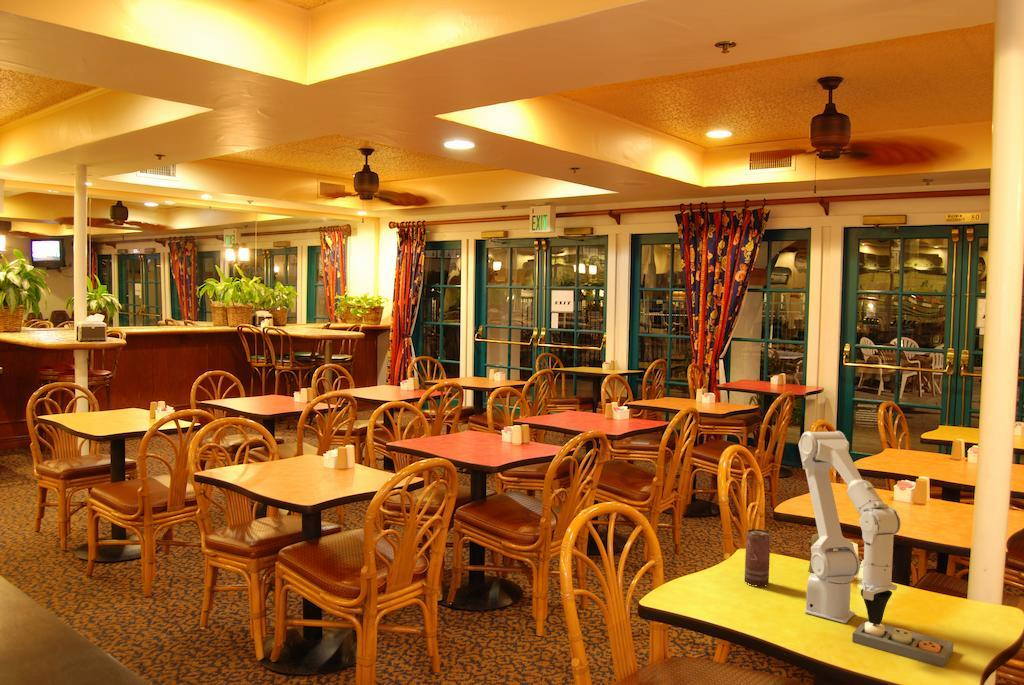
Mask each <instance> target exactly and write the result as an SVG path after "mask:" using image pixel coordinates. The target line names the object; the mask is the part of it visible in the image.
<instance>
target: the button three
mask: <svg viewBox="0 0 1024 685" xmlns="http://www.w3.org/2000/svg"><path fill="white" fill-rule="evenodd" d="M919 648H921V649H925V650H929V651H932V652H936V653H940V645H938V644H936V643H934V642H930V641H920V642H919Z"/></svg>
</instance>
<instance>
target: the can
mask: <svg viewBox="0 0 1024 685" xmlns="http://www.w3.org/2000/svg"><path fill="white" fill-rule="evenodd" d="M771 542H772V541H771V535H770V532H769V531H767V530H764V529H757V528H754V529H753V528H752V529H748V530H747V532H746V534H745V554H744V555H745V557H744V558H745V559H744V560H745V561H744V582H745V583H746V582H747V583H749V584H751V585H757V586H765V585H767V586H768V585H769V580H770V578H769V577H770V560H771V559H770V556H771ZM765 587H766V586H765Z"/></svg>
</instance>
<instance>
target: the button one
mask: <svg viewBox="0 0 1024 685" xmlns="http://www.w3.org/2000/svg"><path fill="white" fill-rule="evenodd" d="M882 624H883V623H881V624H880V625H877V624H873V623H870V622H866V623H865V632H864V633H866V634H869V635H873V636H877V637H880V638H883V637H884V632H885V626H884V625H882Z"/></svg>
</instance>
